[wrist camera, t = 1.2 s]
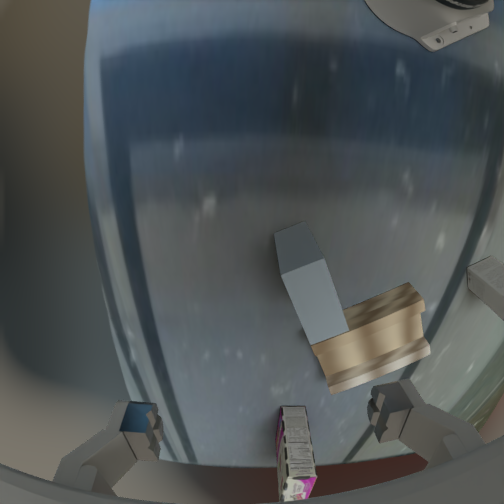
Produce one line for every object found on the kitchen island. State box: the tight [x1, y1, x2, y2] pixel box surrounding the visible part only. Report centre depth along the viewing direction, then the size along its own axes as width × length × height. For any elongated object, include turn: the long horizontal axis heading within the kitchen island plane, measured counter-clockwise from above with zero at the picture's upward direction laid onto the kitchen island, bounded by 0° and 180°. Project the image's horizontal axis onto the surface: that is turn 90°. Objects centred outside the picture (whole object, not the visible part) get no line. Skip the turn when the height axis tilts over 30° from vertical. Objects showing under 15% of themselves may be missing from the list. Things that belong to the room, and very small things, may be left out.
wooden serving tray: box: [311, 282, 430, 395], centre depth 45 cm, size 17×11×6 cm, turn 113°
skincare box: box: [467, 256, 504, 321], centre depth 39 cm, size 6×4×12 cm
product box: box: [274, 221, 349, 345], centre depth 38 cm, size 4×9×13 cm, turn 23°
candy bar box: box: [275, 406, 317, 502], centre depth 48 cm, size 11×5×16 cm, turn 178°
